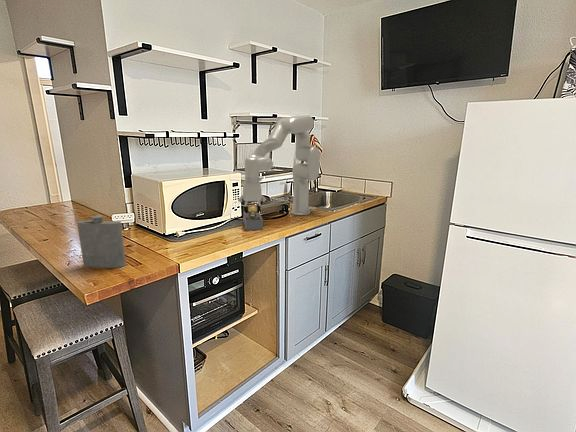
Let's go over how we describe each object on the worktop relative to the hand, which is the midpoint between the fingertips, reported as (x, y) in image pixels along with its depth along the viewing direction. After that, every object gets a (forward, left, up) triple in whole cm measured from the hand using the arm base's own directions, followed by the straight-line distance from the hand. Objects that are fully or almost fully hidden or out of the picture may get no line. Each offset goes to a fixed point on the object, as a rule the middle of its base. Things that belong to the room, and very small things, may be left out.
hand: (252, 212), depth 183 cm
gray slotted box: (0, 0, -7) cm, 7 cm away
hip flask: (+62, +47, -7) cm, 78 cm away
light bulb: (0, 0, -5) cm, 5 cm away
